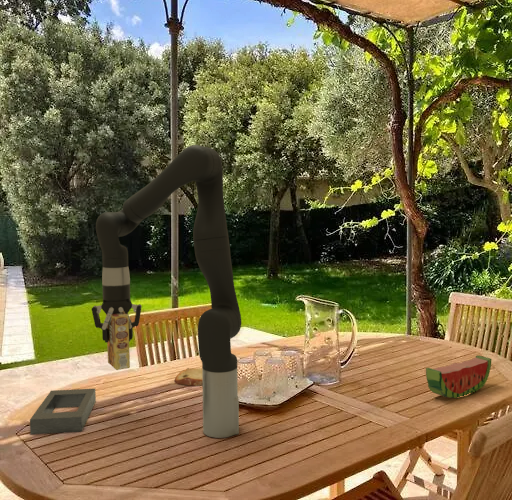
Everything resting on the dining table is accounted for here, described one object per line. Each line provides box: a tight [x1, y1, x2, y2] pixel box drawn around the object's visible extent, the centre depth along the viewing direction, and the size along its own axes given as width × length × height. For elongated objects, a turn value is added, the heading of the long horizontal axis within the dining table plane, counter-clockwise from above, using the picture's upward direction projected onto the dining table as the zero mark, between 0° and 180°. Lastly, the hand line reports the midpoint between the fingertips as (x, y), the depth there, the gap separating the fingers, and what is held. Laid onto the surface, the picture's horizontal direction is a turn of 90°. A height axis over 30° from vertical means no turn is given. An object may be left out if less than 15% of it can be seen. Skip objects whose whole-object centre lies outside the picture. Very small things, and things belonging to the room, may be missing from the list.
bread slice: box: [173, 367, 203, 387], centre depth 181 cm, size 18×18×4 cm
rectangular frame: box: [29, 388, 97, 435], centre depth 149 cm, size 13×22×4 cm, turn 8°
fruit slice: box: [425, 355, 492, 399], centre depth 165 cm, size 26×6×10 cm, turn 123°
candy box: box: [105, 313, 131, 371], centre depth 149 cm, size 9×4×15 cm, turn 32°
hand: (118, 341), depth 149 cm, fingers closed on candy box, 5 cm apart
